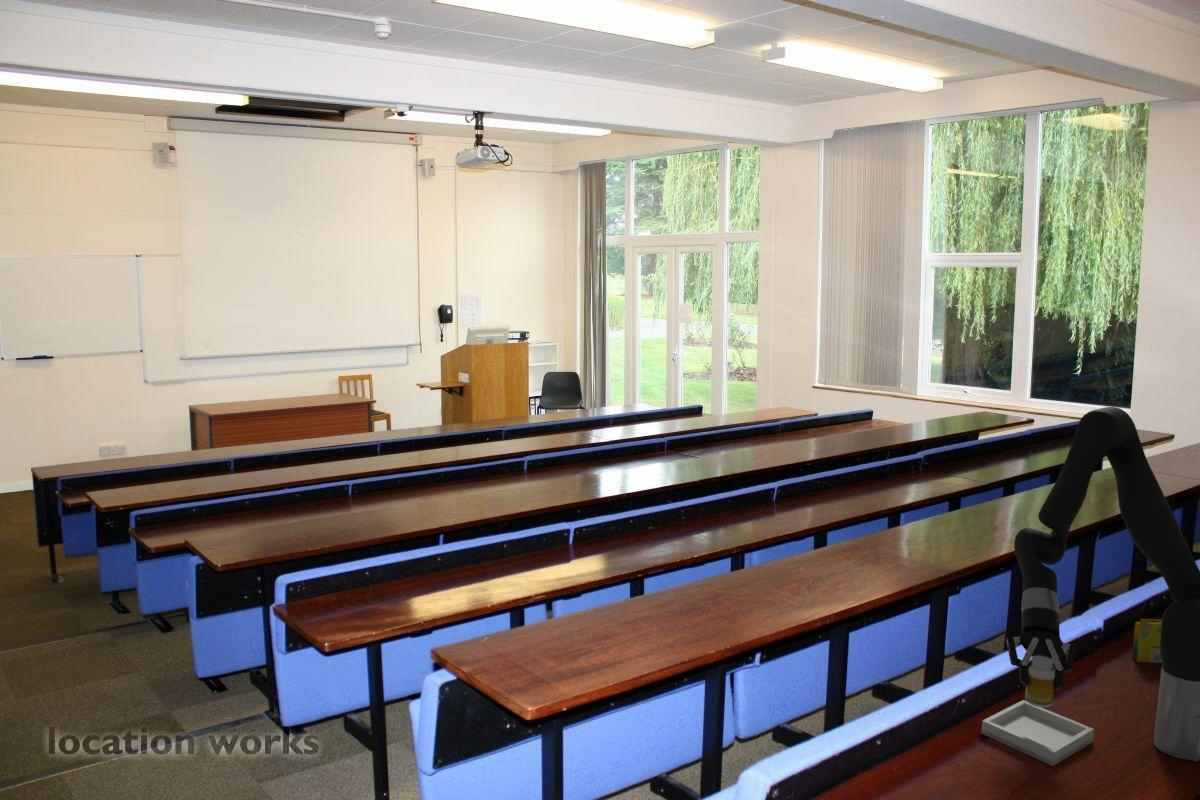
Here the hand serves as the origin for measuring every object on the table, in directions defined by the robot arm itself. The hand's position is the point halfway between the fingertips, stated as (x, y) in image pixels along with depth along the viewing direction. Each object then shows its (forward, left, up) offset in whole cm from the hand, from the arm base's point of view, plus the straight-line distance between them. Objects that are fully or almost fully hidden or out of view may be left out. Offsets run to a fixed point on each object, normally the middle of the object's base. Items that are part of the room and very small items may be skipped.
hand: (1041, 687), depth 200 cm
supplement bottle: (+1, -1, -4) cm, 5 cm away
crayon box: (+5, -61, -13) cm, 63 cm away
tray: (+1, -1, -12) cm, 12 cm away
